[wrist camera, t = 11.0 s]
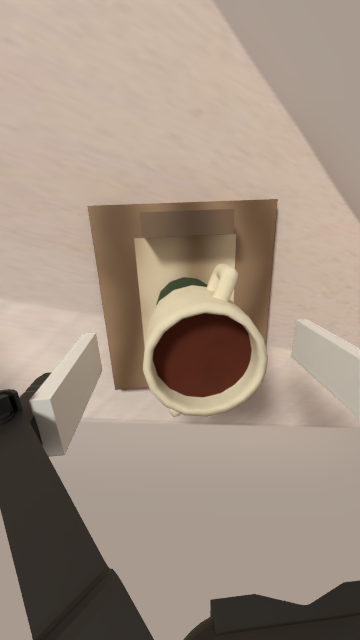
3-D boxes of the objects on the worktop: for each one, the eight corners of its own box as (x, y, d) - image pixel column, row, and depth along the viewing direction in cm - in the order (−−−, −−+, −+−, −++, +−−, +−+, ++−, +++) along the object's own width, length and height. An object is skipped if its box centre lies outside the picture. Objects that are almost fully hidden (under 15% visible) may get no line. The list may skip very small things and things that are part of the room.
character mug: (199, 357, 28) (226, 452, 15) (139, 340, 27) (118, 427, 14) (236, 267, 25) (308, 294, 12) (170, 243, 23) (178, 247, 11)
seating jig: (116, 384, 30) (109, 406, 26) (90, 207, 23) (76, 201, 19) (259, 374, 30) (273, 394, 27) (273, 200, 24) (293, 193, 20)
